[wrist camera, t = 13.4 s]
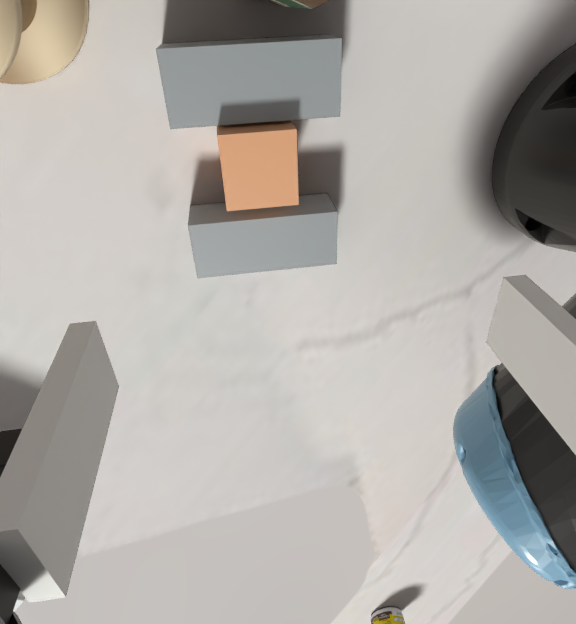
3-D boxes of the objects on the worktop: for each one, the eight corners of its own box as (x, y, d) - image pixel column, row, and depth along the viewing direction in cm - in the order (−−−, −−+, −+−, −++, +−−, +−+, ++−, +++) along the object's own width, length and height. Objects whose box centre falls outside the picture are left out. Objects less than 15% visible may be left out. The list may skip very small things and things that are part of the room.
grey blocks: (328, 34, 27) (342, 38, 24) (326, 242, 35) (336, 263, 32) (162, 43, 26) (155, 48, 24) (198, 255, 34) (197, 278, 32)
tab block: (287, 178, 32) (298, 204, 28) (225, 184, 32) (226, 211, 28) (285, 111, 30) (296, 129, 25) (216, 116, 29) (217, 135, 25)
